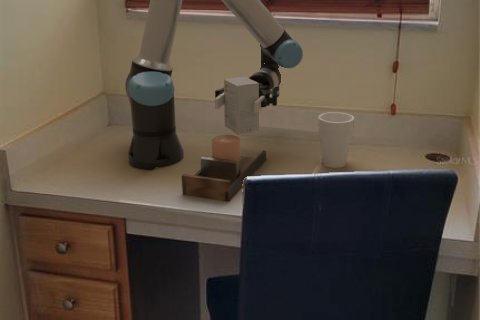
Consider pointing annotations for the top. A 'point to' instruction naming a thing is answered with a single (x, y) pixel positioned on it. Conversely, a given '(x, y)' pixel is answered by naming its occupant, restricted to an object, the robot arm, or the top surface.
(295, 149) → the top surface
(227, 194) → the pusher lane
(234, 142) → the terracotta jar
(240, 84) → the small box
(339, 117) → the foam cup
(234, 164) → the pusher plate
